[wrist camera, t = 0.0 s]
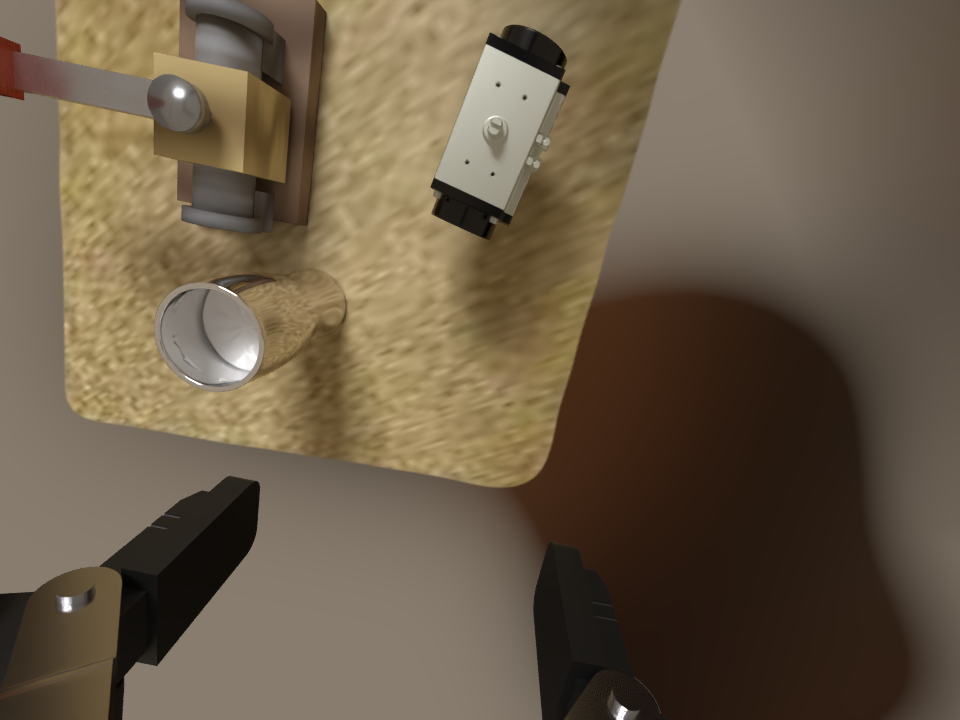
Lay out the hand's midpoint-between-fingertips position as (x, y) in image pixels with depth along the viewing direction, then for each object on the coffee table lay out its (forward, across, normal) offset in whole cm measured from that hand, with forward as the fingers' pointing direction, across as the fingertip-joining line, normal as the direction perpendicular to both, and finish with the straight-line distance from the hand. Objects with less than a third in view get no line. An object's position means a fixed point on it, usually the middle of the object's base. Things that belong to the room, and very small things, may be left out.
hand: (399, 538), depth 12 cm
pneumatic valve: (+30, 0, -14) cm, 33 cm away
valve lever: (+20, +25, -12) cm, 34 cm away
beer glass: (+30, +14, +1) cm, 33 cm away
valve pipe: (+29, +21, -13) cm, 38 cm away
